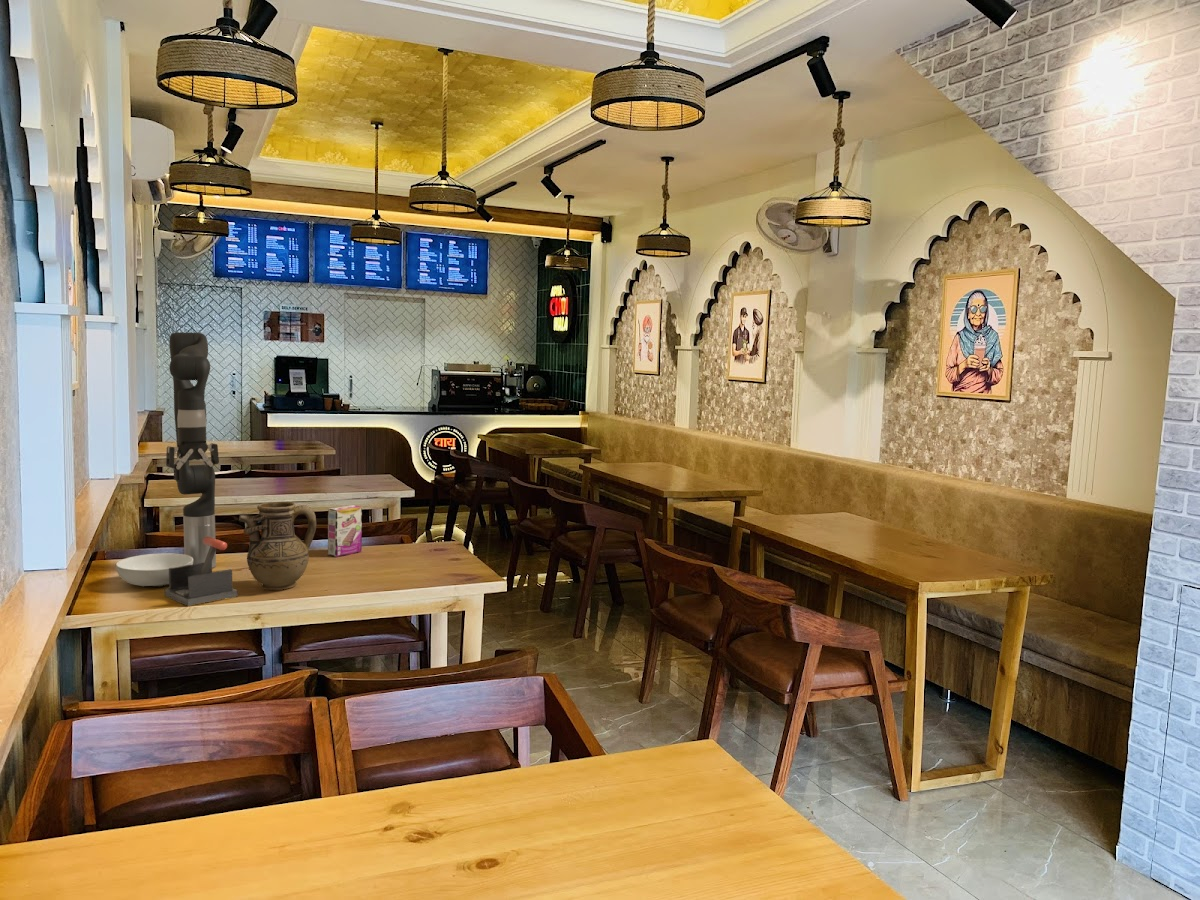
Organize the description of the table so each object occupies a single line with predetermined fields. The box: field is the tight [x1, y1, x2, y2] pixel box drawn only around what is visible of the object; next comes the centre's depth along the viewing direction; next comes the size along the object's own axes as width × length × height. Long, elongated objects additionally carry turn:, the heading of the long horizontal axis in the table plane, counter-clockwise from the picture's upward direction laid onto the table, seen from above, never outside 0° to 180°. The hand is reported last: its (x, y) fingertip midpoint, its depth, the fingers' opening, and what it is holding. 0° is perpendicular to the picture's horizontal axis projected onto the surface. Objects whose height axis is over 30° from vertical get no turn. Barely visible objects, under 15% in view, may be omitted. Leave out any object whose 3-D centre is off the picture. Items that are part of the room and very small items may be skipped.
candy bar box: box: [327, 504, 363, 558], centre depth 313 cm, size 11×5×16 cm, turn 144°
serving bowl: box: [115, 552, 193, 587], centre depth 271 cm, size 21×21×7 cm
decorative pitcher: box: [238, 501, 317, 591], centre depth 268 cm, size 22×18×25 cm
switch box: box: [164, 562, 238, 607], centre depth 257 cm, size 14×15×8 cm
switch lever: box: [200, 536, 228, 574], centre depth 258 cm, size 2×10×13 cm, turn 48°
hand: (193, 480), depth 263 cm, fingers open, 8 cm apart
